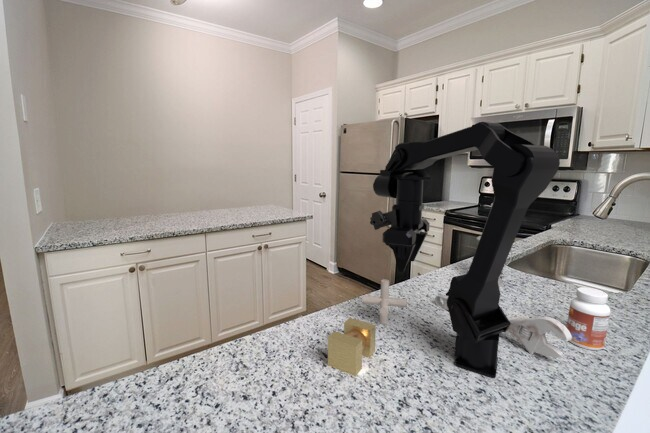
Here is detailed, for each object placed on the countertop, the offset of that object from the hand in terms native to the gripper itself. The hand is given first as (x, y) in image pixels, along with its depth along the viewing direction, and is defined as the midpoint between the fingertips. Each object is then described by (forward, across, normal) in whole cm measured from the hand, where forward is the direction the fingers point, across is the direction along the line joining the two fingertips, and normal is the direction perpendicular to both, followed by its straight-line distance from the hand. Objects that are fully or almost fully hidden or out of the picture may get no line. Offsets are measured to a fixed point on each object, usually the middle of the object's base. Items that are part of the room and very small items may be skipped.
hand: (406, 266), depth 72 cm
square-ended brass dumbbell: (+13, +21, -4) cm, 25 cm away
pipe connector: (+13, +5, -4) cm, 14 cm away
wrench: (+13, -3, +18) cm, 22 cm away
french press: (+13, -35, +17) cm, 41 cm away
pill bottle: (+13, -7, +35) cm, 38 cm away
